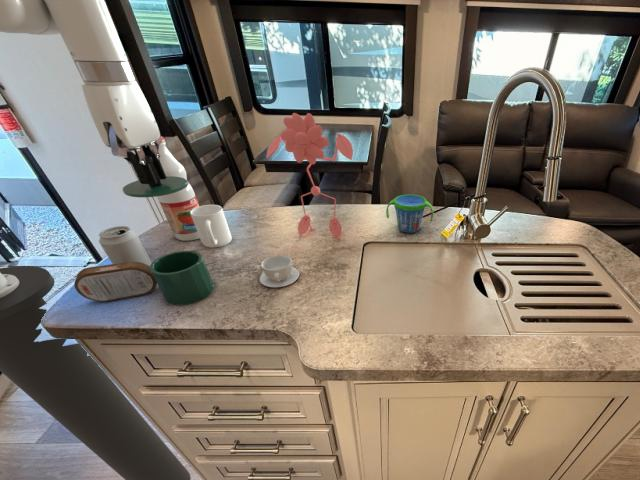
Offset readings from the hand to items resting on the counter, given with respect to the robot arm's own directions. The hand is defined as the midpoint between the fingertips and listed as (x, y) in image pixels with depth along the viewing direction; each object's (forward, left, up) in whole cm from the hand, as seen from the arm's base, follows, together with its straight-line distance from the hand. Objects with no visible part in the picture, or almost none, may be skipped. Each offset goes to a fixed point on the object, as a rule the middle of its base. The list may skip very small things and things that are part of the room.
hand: (154, 180), depth 67 cm
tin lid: (0, 0, -1) cm, 1 cm away
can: (-15, +8, -25) cm, 30 cm away
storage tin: (-1, -5, -25) cm, 26 cm away
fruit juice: (-5, +28, -25) cm, 38 cm away
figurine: (+32, +13, -25) cm, 43 cm away
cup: (+3, +19, -25) cm, 32 cm away
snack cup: (+63, +13, -25) cm, 69 cm away
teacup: (+20, -5, -25) cm, 33 cm away
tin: (-15, -3, -25) cm, 29 cm away
